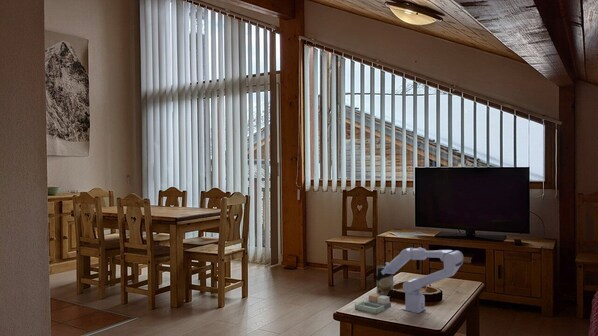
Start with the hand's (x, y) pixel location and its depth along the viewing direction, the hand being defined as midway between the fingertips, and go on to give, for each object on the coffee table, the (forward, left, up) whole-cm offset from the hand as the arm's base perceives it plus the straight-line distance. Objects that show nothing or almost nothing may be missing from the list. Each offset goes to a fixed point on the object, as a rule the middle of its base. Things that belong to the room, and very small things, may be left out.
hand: (380, 277), depth 273 cm
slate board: (-2, +7, -13) cm, 15 cm away
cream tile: (-5, +5, -11) cm, 13 cm away
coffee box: (+6, -13, -14) cm, 20 cm away
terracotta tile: (+1, +5, -11) cm, 13 cm away
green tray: (-2, +15, -13) cm, 20 cm away
